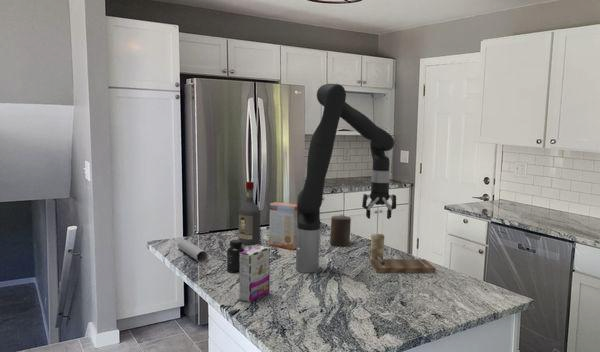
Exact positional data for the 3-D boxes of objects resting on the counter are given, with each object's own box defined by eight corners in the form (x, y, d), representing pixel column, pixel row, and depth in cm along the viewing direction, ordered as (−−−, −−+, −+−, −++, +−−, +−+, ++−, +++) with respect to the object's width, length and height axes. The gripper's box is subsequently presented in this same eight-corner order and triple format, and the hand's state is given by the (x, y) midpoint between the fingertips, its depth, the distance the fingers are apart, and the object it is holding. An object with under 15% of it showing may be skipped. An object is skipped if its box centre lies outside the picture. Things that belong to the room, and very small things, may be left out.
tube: (174, 241, 213) (194, 254, 193) (185, 236, 216) (206, 248, 195) (178, 251, 215) (198, 265, 194) (188, 246, 217) (209, 259, 197)
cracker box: (299, 247, 222) (300, 204, 220) (292, 250, 217) (293, 206, 214) (275, 242, 229) (276, 201, 227) (268, 245, 224) (269, 202, 222)
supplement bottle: (223, 270, 186) (223, 240, 184) (236, 266, 191) (237, 237, 189) (234, 274, 181) (234, 244, 180) (247, 270, 186) (248, 241, 185)
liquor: (248, 239, 235) (249, 180, 232) (262, 242, 230) (263, 182, 226) (235, 242, 228) (236, 182, 224) (249, 246, 222) (250, 184, 219)
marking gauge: (377, 270, 190) (378, 241, 189) (370, 260, 203) (371, 233, 201) (389, 270, 190) (390, 241, 189) (381, 260, 203) (382, 234, 202)
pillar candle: (340, 247, 223) (341, 217, 222) (325, 243, 231) (327, 213, 229) (353, 245, 230) (355, 215, 228) (339, 240, 237) (341, 212, 235)
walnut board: (377, 272, 187) (377, 267, 187) (370, 263, 199) (370, 259, 199) (435, 272, 189) (435, 267, 189) (425, 264, 201) (425, 259, 201)
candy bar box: (258, 290, 165) (259, 244, 163) (269, 293, 162) (270, 247, 160) (238, 299, 155) (238, 251, 153) (249, 303, 153) (250, 254, 151)
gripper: (365, 181, 193) (364, 220, 195) (399, 182, 194) (397, 220, 196) (361, 179, 200) (360, 216, 202) (394, 180, 201) (392, 216, 203)
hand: (378, 218), depth 199 cm, fingers open, 8 cm apart
